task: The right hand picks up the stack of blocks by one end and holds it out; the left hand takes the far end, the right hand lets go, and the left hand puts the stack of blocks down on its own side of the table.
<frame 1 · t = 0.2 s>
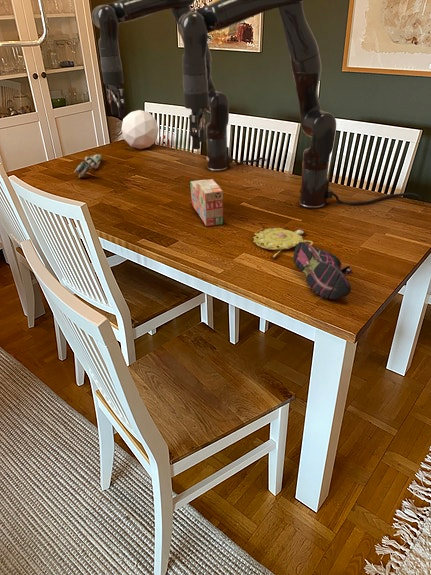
left hand: (118, 115, 171), 29 cm above the table, tool pointing down, fingers open, 8 cm apart
right hand: (198, 145, 141), 27 cm above the table, tool pointing down, fingers open, 8 cm apart
athletic shoe: (325, 282, 120), on the table
sphere: (142, 147, 240), on the table
figurine: (90, 170, 210), on the table
stack of blocks: (206, 213, 162), on the table
decorative object: (281, 243, 140), on the table
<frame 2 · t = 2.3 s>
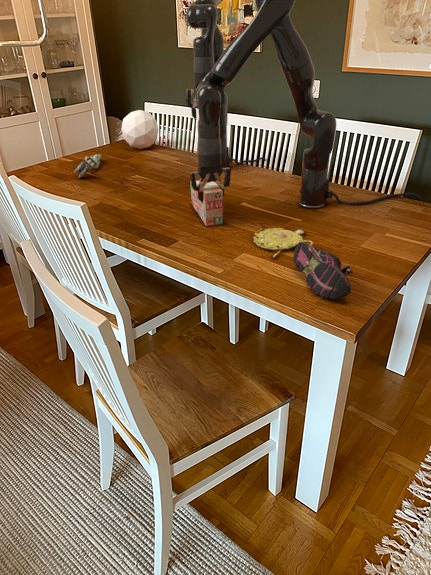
left hand: (205, 117, 168), 28 cm above the table, tool pointing down, fingers open, 8 cm apart
right hand: (211, 199, 152), 8 cm above the table, tool pointing down, fingers closed on stack of blocks, 6 cm apart
stack of blocks: (206, 213, 162), on the table, touching right hand
everything else where it was.
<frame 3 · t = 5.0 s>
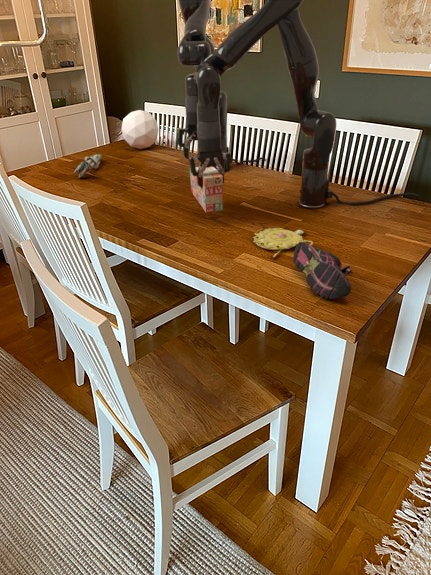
left hand: (198, 157, 157), 19 cm above the table, tool pointing down, fingers open, 8 cm apart
right hand: (211, 185, 149), 13 cm above the table, tool pointing down, fingers closed on stack of blocks, 6 cm apart
stack of blocks: (206, 200, 159), point 5 cm above the table, touching right hand
everything else where it was.
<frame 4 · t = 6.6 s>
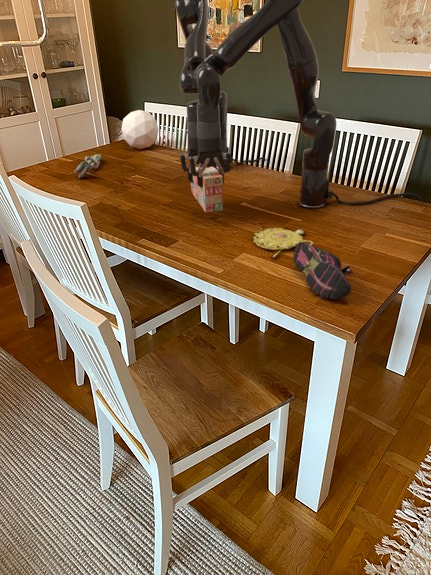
left hand: (200, 180, 162), 10 cm above the table, tool pointing down, fingers closed on stack of blocks, 6 cm apart
right hand: (210, 185, 149), 13 cm above the table, tool pointing down, fingers closed on stack of blocks, 6 cm apart
stack of blocks: (206, 201, 159), point 5 cm above the table, touching left hand, right hand
everything else where it was.
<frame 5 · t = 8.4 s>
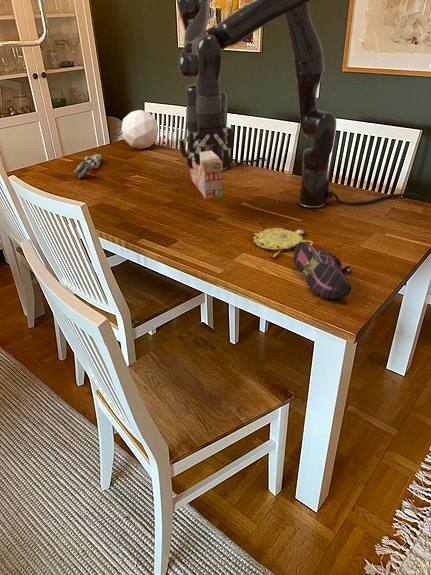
left hand: (200, 166, 159), 15 cm above the table, tool pointing down, fingers closed on stack of blocks, 6 cm apart
right hand: (211, 163, 143), 21 cm above the table, tool pointing down, fingers open, 8 cm apart
stack of blocks: (206, 187, 157), point 10 cm above the table, touching left hand
everything else where it was.
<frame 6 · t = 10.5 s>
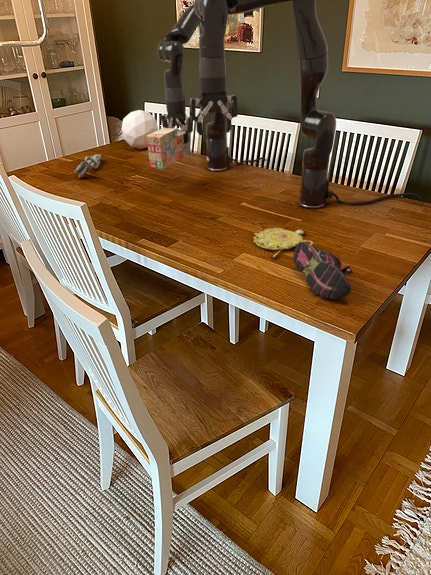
left hand: (179, 142, 182), 17 cm above the table, tool pointing down, fingers closed on stack of blocks, 6 cm apart
right hand: (214, 133, 134), 31 cm above the table, tool pointing down, fingers open, 8 cm apart
stack of blocks: (171, 160, 179), point 12 cm above the table, touching left hand
everything else where it was.
when the left hand's fingers open (6 cm above the table, at t = 14.8 s): stack of blocks stays where it is, on the table.
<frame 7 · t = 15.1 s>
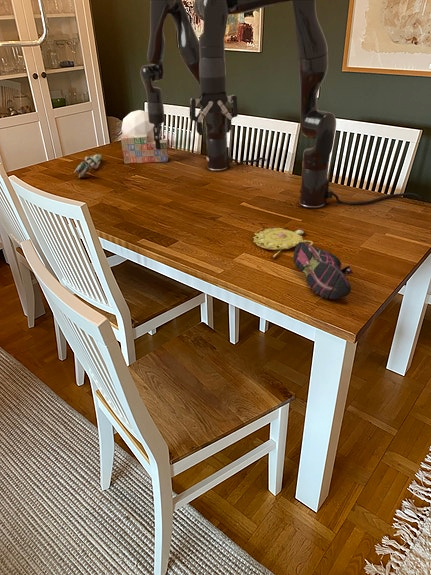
left hand: (159, 146, 216), 7 cm above the table, tool pointing down, fingers open, 8 cm apart
right hand: (214, 133, 134), 31 cm above the table, tool pointing down, fingers open, 8 cm apart
stack of blocks: (146, 160, 220), on the table
everything else where it was.
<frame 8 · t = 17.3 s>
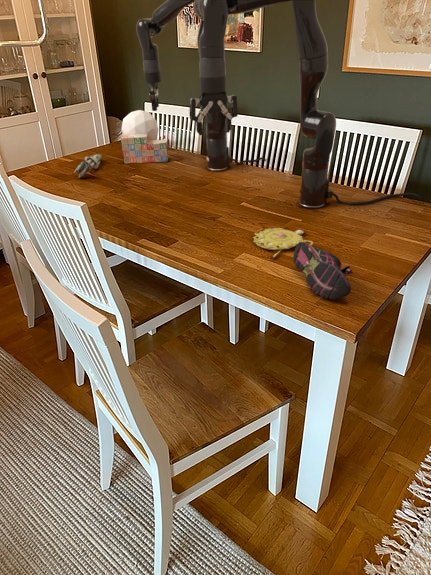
left hand: (155, 108, 207), 24 cm above the table, tool pointing down, fingers open, 8 cm apart
right hand: (214, 133, 134), 31 cm above the table, tool pointing down, fingers open, 8 cm apart
nothing on the table moved.
at the end: stack of blocks inside the target area (6.9 cm from its centre), on the table; the left hand is holding nothing; the right hand is holding nothing; stack of blocks at rest at the end (0.0 cm/s) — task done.
